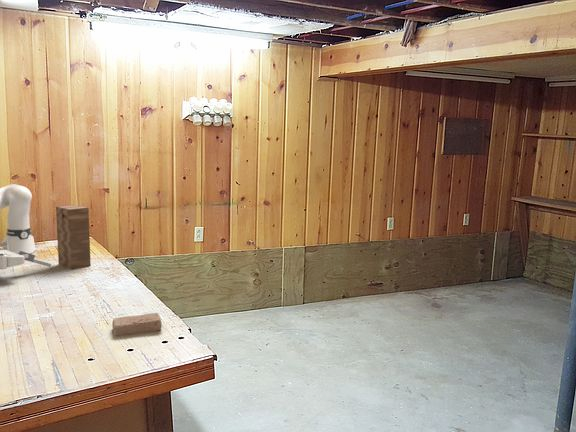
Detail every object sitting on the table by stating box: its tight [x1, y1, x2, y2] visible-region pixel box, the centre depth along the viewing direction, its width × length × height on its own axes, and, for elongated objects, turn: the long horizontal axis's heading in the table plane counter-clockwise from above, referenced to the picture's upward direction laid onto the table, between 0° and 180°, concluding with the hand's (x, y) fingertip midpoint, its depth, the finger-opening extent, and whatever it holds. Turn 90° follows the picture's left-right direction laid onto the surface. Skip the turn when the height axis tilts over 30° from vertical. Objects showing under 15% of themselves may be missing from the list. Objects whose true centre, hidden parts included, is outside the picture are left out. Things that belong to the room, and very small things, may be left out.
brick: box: [111, 312, 163, 337], centre depth 187 cm, size 17×8×5 cm, turn 113°
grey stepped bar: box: [19, 251, 52, 268], centre depth 256 cm, size 16×4×4 cm, turn 141°
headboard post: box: [55, 204, 92, 270], centre depth 270 cm, size 14×10×31 cm
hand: (25, 254), depth 252 cm, fingers closed on grey stepped bar, 4 cm apart
